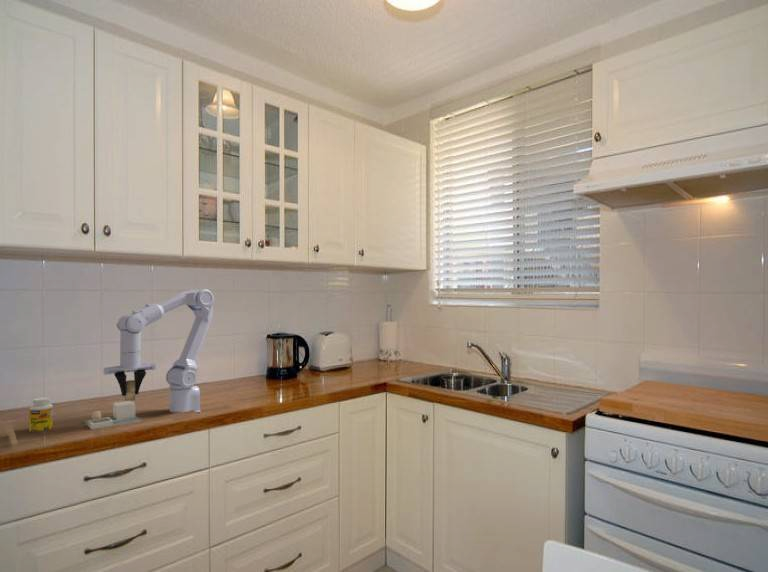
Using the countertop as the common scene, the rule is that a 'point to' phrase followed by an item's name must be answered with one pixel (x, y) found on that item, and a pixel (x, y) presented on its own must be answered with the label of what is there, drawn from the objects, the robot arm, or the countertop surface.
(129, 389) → the loose pin
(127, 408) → the cover
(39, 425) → the supplement bottle
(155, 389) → the countertop surface
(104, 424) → the board
